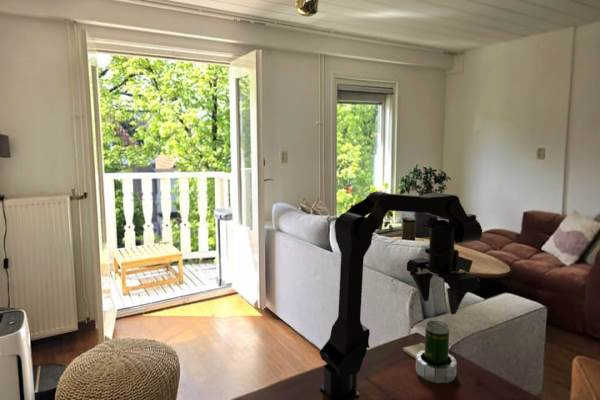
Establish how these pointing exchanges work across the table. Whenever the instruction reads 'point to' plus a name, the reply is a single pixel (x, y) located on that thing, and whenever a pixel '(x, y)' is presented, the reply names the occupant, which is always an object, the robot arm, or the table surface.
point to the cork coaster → (414, 349)
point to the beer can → (436, 343)
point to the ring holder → (436, 369)
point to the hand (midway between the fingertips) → (439, 307)
